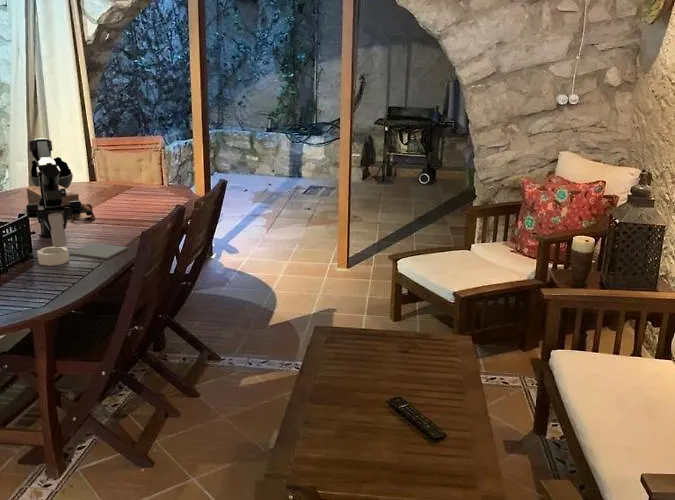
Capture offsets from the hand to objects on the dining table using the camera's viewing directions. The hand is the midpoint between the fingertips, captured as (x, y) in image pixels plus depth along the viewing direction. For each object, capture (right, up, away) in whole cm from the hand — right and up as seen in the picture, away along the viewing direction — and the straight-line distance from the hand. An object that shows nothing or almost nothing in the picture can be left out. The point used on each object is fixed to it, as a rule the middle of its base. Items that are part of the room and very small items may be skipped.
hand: (57, 229), depth 246 cm
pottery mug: (-13, +6, +60) cm, 62 cm away
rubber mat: (+10, -8, +15) cm, 20 cm away
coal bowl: (-45, +21, +104) cm, 116 cm away
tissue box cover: (-31, +10, +71) cm, 78 cm away
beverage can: (0, -6, +3) cm, 7 cm away
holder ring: (-3, -12, +4) cm, 12 cm away
